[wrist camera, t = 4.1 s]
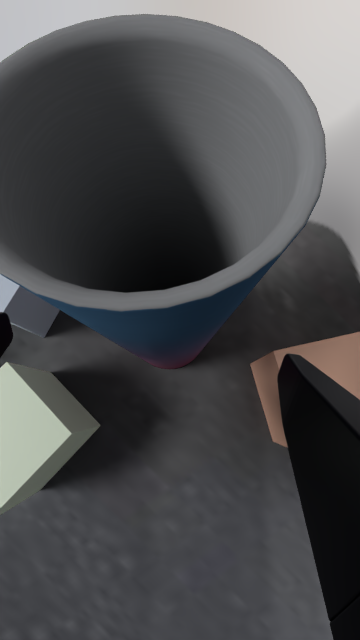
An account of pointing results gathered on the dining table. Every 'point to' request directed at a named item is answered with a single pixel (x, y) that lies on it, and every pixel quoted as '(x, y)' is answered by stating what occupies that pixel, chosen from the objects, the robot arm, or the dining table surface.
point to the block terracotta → (327, 355)
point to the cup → (152, 176)
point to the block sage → (36, 431)
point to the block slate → (26, 308)
